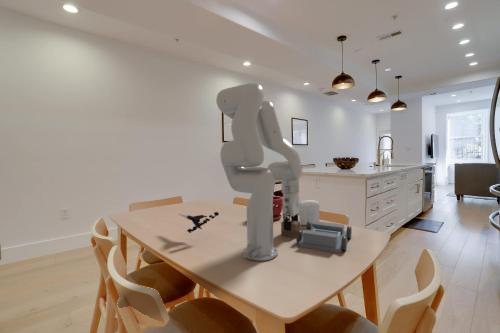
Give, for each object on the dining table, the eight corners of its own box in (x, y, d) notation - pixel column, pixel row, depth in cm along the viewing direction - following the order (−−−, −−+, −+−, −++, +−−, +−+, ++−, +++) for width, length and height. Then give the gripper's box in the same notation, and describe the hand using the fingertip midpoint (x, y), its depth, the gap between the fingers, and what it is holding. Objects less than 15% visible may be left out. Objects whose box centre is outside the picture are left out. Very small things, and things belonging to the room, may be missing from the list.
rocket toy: (189, 219, 96) (164, 209, 113) (190, 234, 97) (164, 223, 114) (219, 212, 106) (192, 204, 123) (220, 226, 107) (192, 217, 124)
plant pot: (286, 220, 132) (286, 198, 132) (262, 222, 130) (262, 200, 129) (279, 214, 145) (279, 194, 144) (257, 216, 143) (257, 195, 142)
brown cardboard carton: (296, 238, 106) (296, 224, 105) (281, 235, 109) (281, 222, 109) (299, 235, 109) (299, 221, 109) (284, 232, 113) (284, 219, 113)
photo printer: (317, 222, 128) (317, 198, 127) (320, 224, 124) (320, 200, 123) (298, 223, 127) (298, 199, 126) (301, 226, 122) (300, 201, 122)
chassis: (344, 254, 88) (344, 239, 88) (295, 245, 97) (295, 232, 96) (352, 235, 107) (352, 223, 107) (310, 229, 116) (310, 218, 116)
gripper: (291, 193, 99) (293, 234, 100) (304, 186, 114) (305, 222, 115) (274, 192, 103) (276, 232, 104) (288, 185, 118) (289, 220, 119)
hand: (291, 226), depth 110 cm, fingers open, 9 cm apart
